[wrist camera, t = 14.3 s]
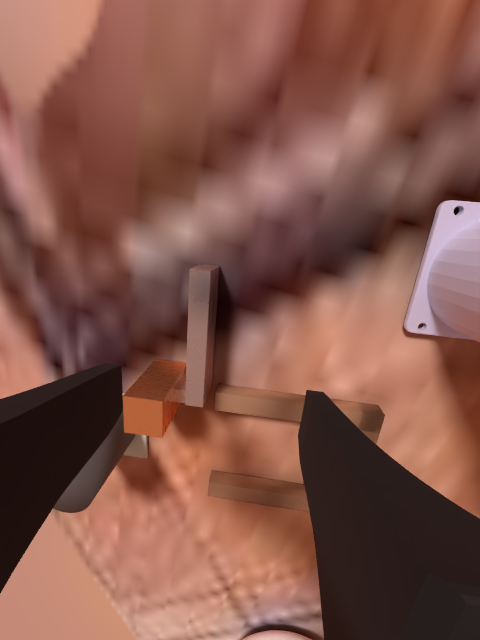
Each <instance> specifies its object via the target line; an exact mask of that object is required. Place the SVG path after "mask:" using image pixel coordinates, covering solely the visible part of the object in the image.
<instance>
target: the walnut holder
mask: <svg viewBox="0 0 480 640" xmlns="http://www.w3.org/2000/svg"><path fill="white" fill-rule="evenodd" d="M331 400H332V402H333V403H334V404H335V405H336V406H337V407H338V408H339V409H340V410H341V411H342V412H343V413H344V414H345V415H346V416H347V417H348V418H349V419H350V420H351V421H352V422H353V423H354V424H355V425H356V426H357V427H358V428H359V429H360V430H361V431H362V432H363V433H364V434H365V435H366V436H367V437H368V438H369V439H370V440H372V441H373V442H374V443H375V444H376V443H377V440H378V436H379V433H380V430H381V426H382V423H383V420H384V416H385V415H384V414H383V412H382V410H381V409H380V407H379V406H378V405H372V404H365V403H357V402H350V401H342V400H335V399H331ZM304 402H305V395H297V394H290V393H282V392H275V391H267V390H259V389H252V388H244V387H237V386H229V385H222V384H218V387H217V390H216V393H215V406H214V410H217V411H224V412H232V413H239V414H246V415H253V416H260V417H267V418H275V419H282V420H289V421H296V422H301V417H302V412H303V407H304ZM208 496H211V497H217V498H223V499H230V500H236V501H242V502H248V503H255V504H261V505H267V506H273V507H280V508H286V509H292V510H298V511H304V512H310V511H309V506H308V501H307V496H306V491H305V486H304V484H297V483H291V482H284V481H278V480H271V479H265V478H258V477H252V476H245V475H239V474H232V473H226V472H219V471H213V470H212V472H211V476H210V480H209V488H208Z"/></svg>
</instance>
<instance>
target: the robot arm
mask: <svg viewBox="0 0 480 640" xmlns="http://www.w3.org/2000/svg"><path fill="white" fill-rule="evenodd" d="M455 207H458V208H459V212H458V214H457V215H455V214H454V209H455ZM421 323H423V327H422V328H420V329H418V325H419V324H421ZM404 329H406V330H407V331H408V332H410V333H417V334H426V335H434V336H443V337H452V338H460V339H469V340H476V341H478V342H480V203H477V202H465V201H453V200H451V201H445V202H443V203H441V204H440V205H439V206H438V208H437V210H436V214H435V217H434V220H433V224H432V227H431V231H430V234H429V238H428V241H427V245H426V248H425V252H424V255H423V258H422V262H421V265H420V269H419V272H418V276H417V279H416V283H415V286H414V290H413V293H412V297H411V300H410V303H409V307H408V310H407V314H406V317H405V321H404ZM122 412H123V393H122V371H121V366H120V365H113V364H103V365H99V366H96V367H93V368H90V369H87V370H84V371H81V372H79V373H76V374H73V375H70V376H68V377H65V378H62V379H59V380H57V381H54V382H51V383H48V384H46V385H43V386H40V387H37V388H34V389H31V390H28V391H25V392H22V393H19V394H16V395H13V396H9V397H6V398H3V399H0V593H1V591H2V590H3V588H4V586H5V584H6V583H7V581H8V579H9V578H10V576H11V574H12V572H13V571H14V569H15V567H16V566H17V564H18V562H19V561H20V559H21V558H22V556H23V554H24V553H25V551H26V550H27V548H28V546H29V545H30V543H31V541H32V540H33V538H34V537H35V535H36V533H37V532H38V530H39V529H40V527H41V526H42V524H43V523H44V521H45V519H46V518H47V516H48V515H49V513H50V512H51V510H52V509H53V507H54V506H55V504H56V503H57V501H58V500H59V498H60V497H61V496H62V494H63V493H64V491H65V490H66V489H67V487H68V486H69V485H70V484H71V482H72V481H73V480H74V478H75V477H76V476H77V475H78V473H79V472H80V471H81V470H82V468H83V467H84V466H85V464H86V463H87V462H88V461H89V459H90V458H91V457H92V456H93V454H94V453H95V452H96V451H97V449H98V448H99V447H100V445H101V444H102V443H103V441H104V440H105V439H106V438H107V436H108V435H109V434H110V432H111V430H112V429H113V427H114V426H115V424H116V422H117V421H118V419H119V417H120V415H121V413H122ZM298 441H299V456H300V464H301V470H302V475H303V480H304V486H305V491H306V496H307V501H308V506H309V511H310V516H311V521H312V527H313V533H314V540H315V547H316V557H317V566H318V576H319V586H320V597H321V608H322V619H323V631H324V640H480V519H479V518H477V517H476V516H474V515H472V514H471V513H469V512H467V511H466V510H464V509H463V508H461V507H460V506H458V505H456V504H455V503H453V502H452V501H450V500H449V499H447V498H446V497H444V496H443V495H441V494H440V493H439V492H437V491H436V490H434V489H433V488H431V487H430V486H428V485H427V484H425V483H424V482H423V481H421V480H420V479H418V478H417V477H416V476H414V475H413V474H412V473H410V472H409V471H408V470H406V469H405V468H404V467H403V466H401V465H400V464H399V463H398V462H396V461H395V460H394V459H392V458H391V457H390V456H389V455H388V454H386V453H385V452H384V451H383V450H382V449H380V448H379V447H378V446H377V445H376V444H375V443H374V442H373V441H372V440H370V439H369V438H368V437H367V436H366V435H365V434H364V433H363V432H362V431H361V430H360V429H359V428H358V427H357V426H356V425H355V424H354V423H353V422H352V421H351V420H350V419H349V418H348V417H347V416H346V415H345V414H344V413H343V412H342V411H341V410H340V409H339V408H338V407H337V406H336V405H335V404H334V403H333V402H332V400H331V399H330V398H329V397H328V396H327V395H326V394H325V393H324V392H318V391H311V390H307V391H306V396H305V402H304V407H303V412H302V417H301V423H300V428H299V433H298Z"/></svg>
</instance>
